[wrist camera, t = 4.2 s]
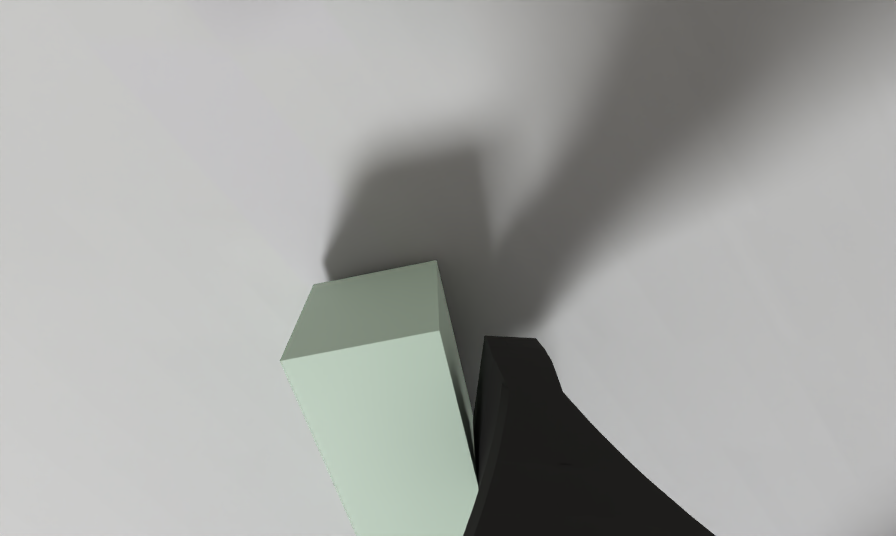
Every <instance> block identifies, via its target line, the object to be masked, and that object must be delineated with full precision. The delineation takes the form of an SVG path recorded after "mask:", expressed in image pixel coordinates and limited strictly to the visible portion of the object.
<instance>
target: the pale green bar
mask: <svg viewBox="0 0 896 536" xmlns="http://www.w3.org/2000/svg"><path fill="white" fill-rule="evenodd" d="M280 363H281V365H282V367H283V369H284V372H285V374H286V376H287V379H288V381H289V383H290V385H291V388H292V390H293V392H294V395H295V397H296V399H297V401H298V404H299V406H300V408H301V411H302V413H303V415H304V417H305V420H306V422H307V424H308V427H309V429H310V431H311V433H312V436H313V438H314V440H315V443H316V445H317V447H318V449H319V452H320V454H321V456H322V459H323V461H324V463H325V465H326V468H327V470H328V472H329V475H330V477H331V479H332V481H333V484H334V486H335V488H336V491H337V493H338V495H339V497H340V500H341V502H342V504H343V507H344V509H345V511H346V513H347V516H348V518H349V520H350V523H351V525H352V527H353V529H354V532H355V534H356V536H463V534H464V532H465V529H466V526H467V523H468V520H469V517H470V515H471V512H472V509H473V506H474V503H475V500H476V497H477V494H478V481H477V474H476V465H475V454H474V436H473V414H472V409H471V405H470V401H469V397H468V392H467V388H466V384H465V380H464V375H463V371H462V367H461V363H460V358H459V354H458V350H457V346H456V341H455V337H454V333H453V328H452V324H451V320H450V316H449V311H448V307H447V303H446V299H445V294H444V290H443V286H442V282H441V277H440V273H439V269H438V265H437V260H435V261H430V262H425V263H420V264H415V265H410V266H404V267H399V268H394V269H389V270H384V271H379V272H374V273H369V274H364V275H359V276H354V277H349V278H344V279H339V280H334V281H329V282H324V283H319V284H314V285H313V287H312V290H311V292H310V294H309V296H308V299H307V301H306V303H305V305H304V308H303V310H302V312H301V314H300V317H299V319H298V321H297V323H296V326H295V328H294V330H293V332H292V335H291V337H290V339H289V341H288V344H287V346H286V348H285V351H284V353H283V355H282V357H281V360H280Z"/></svg>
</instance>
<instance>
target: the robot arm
mask: <svg viewBox="0 0 896 536" xmlns="http://www.w3.org/2000/svg"><path fill="white" fill-rule="evenodd" d="M473 436H474V454H475V465H476V474H477V481H478V494H477V497H476V500H475V503H474V506H473V509H472V512H471V515H470V517H469V520H468V523H467V526H466V529H465V532H464V534H463V536H715V535H714V534H713V533H711V532H710V531H709V530H708V529H707V528H705V527H704V526H703V525H702V524H700V523H699V522H698V521H697V520H695V519H694V518H693V517H692V516H690V515H689V514H688V513H687V512H686V511H685V510H683V509H682V508H681V507H680V506H679V505H678V504H676V503H675V502H674V501H673V500H672V499H671V498H669V497H668V496H667V495H666V494H665V493H664V492H663V491H661V490H660V489H659V488H658V487H657V486H656V485H654V484H653V483H652V482H651V481H650V480H649V479H648V478H646V477H645V476H644V475H643V474H642V473H641V472H640V471H639V470H638V469H637V468H636V467H635V466H633V465H632V464H631V463H630V462H629V461H628V460H627V459H626V458H625V457H624V456H623V455H622V454H621V453H620V452H619V451H618V450H617V449H616V448H615V447H614V446H613V445H612V444H611V443H610V442H609V441H608V440H607V439H606V438H605V437H604V436H603V435H602V434H601V433H600V432H599V431H598V430H597V429H596V428H595V427H594V426H593V425H592V424H591V423H590V422H589V420H588V419H587V418H586V417H585V416H584V415H583V414H582V413H581V412H580V410H579V409H578V408H577V407H576V406H575V405H574V404H573V403H572V402H571V400H570V399H569V398H568V397H567V396H566V395H565V394H564V393H563V391H562V388H561V385H560V382H559V380H558V377H557V374H556V371H555V368H554V366H553V363H552V361H551V359H550V357H549V356H548V354H547V352H546V351H545V349H544V348H543V347H542V345H541V344H540V343H539V342H538V340H537V339H536V338H518V337H498V336H485V337H484V345H483V352H482V359H481V366H480V373H479V380H478V387H477V395H476V402H475V409H474V416H473Z"/></svg>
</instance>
